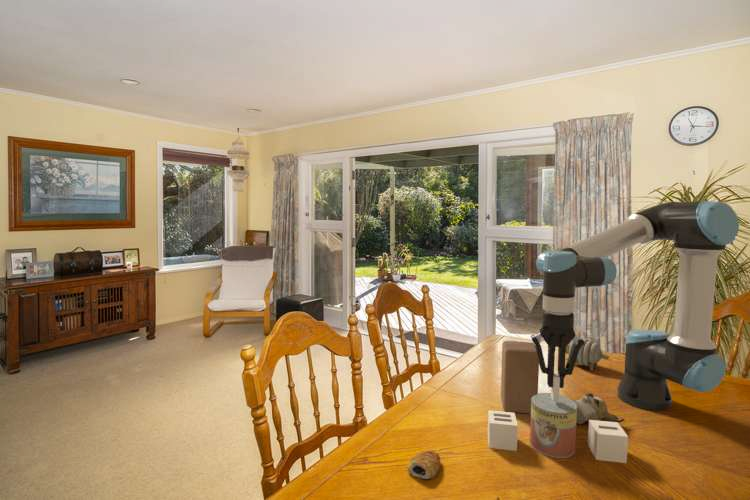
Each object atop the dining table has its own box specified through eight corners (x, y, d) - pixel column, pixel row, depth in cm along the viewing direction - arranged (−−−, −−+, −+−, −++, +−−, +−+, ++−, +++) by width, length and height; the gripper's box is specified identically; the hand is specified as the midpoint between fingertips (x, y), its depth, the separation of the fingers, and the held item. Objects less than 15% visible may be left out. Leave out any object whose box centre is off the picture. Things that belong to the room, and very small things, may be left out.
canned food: (522, 446, 111) (524, 403, 109) (538, 429, 119) (539, 389, 118) (567, 463, 103) (569, 417, 102) (580, 444, 112) (582, 401, 110)
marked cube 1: (513, 436, 116) (514, 412, 115) (516, 451, 109) (517, 425, 108) (487, 434, 117) (488, 409, 116) (489, 448, 110) (489, 422, 109)
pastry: (421, 454, 108) (422, 440, 107) (446, 462, 104) (447, 448, 104) (405, 474, 100) (405, 459, 99) (432, 484, 96) (432, 468, 96)
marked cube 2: (616, 447, 110) (617, 421, 110) (626, 463, 103) (628, 436, 103) (587, 444, 112) (589, 419, 111) (595, 460, 105) (597, 433, 104)
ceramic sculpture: (559, 386, 127) (603, 385, 130) (556, 413, 128) (599, 412, 131) (581, 402, 117) (628, 401, 119) (577, 432, 118) (625, 430, 120)
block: (537, 415, 127) (540, 352, 125) (503, 412, 129) (505, 349, 127) (532, 400, 137) (534, 341, 135) (500, 398, 139) (502, 339, 137)
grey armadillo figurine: (566, 357, 175) (568, 332, 174) (611, 368, 164) (613, 340, 163) (558, 364, 167) (559, 338, 166) (604, 376, 156) (606, 347, 155)
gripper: (581, 308, 110) (577, 394, 112) (529, 306, 112) (526, 390, 115) (589, 316, 102) (585, 407, 105) (533, 314, 105) (531, 403, 108)
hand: (554, 398), depth 110 cm, fingers closed
